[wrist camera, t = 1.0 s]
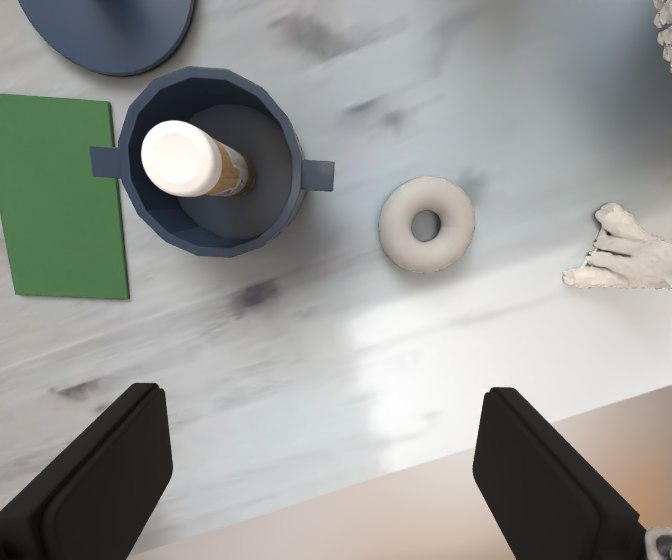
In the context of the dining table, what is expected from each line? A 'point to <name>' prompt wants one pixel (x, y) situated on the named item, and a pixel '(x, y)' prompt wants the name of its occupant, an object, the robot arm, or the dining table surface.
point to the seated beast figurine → (624, 255)
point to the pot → (231, 130)
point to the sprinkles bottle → (194, 162)
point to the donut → (453, 230)
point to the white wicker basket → (668, 14)
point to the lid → (111, 31)
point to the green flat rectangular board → (59, 199)
